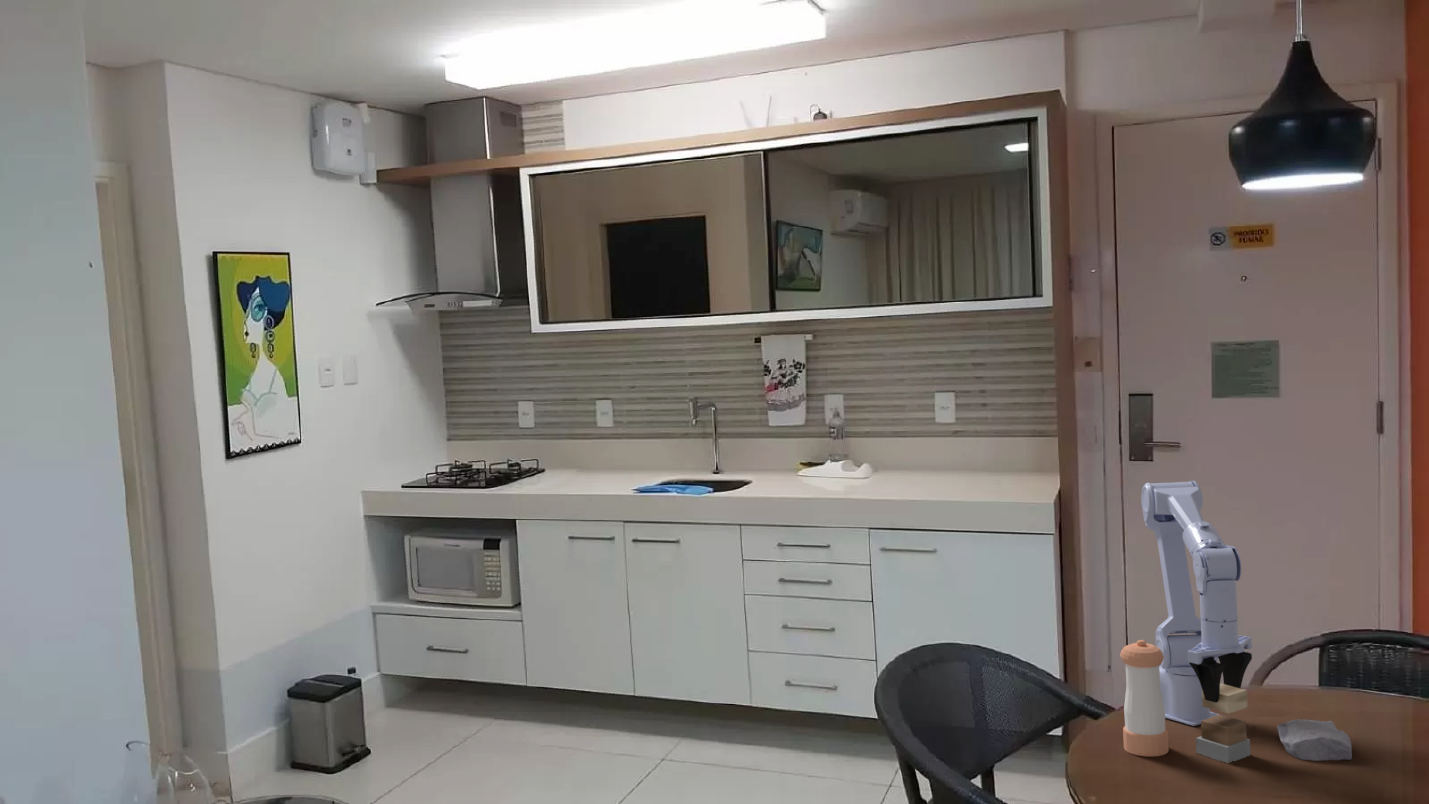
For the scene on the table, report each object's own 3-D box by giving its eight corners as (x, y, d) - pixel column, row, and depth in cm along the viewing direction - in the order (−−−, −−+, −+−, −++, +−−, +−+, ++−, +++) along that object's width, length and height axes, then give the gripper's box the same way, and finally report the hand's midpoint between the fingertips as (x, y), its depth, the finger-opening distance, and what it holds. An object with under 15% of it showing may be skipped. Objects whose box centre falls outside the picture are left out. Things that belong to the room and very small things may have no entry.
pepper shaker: (1175, 747, 194) (1170, 638, 193) (1159, 759, 188) (1154, 648, 188) (1133, 739, 199) (1128, 633, 198) (1117, 751, 193) (1112, 642, 192)
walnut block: (1201, 738, 190) (1201, 720, 190) (1220, 731, 192) (1219, 714, 192) (1228, 746, 186) (1227, 728, 185) (1246, 739, 188) (1246, 721, 188)
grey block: (1196, 755, 190) (1195, 738, 190) (1218, 747, 193) (1218, 730, 193) (1228, 765, 185) (1227, 747, 185) (1250, 757, 188) (1249, 739, 188)
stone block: (1296, 772, 185) (1359, 761, 183) (1288, 744, 185) (1352, 732, 183) (1274, 749, 196) (1333, 738, 195) (1266, 722, 197) (1326, 711, 195)
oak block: (1202, 706, 190) (1201, 689, 190) (1221, 700, 192) (1220, 683, 192) (1228, 713, 185) (1228, 696, 185) (1247, 707, 188) (1246, 690, 188)
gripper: (1212, 630, 181) (1216, 712, 182) (1267, 615, 189) (1270, 694, 189) (1175, 622, 188) (1178, 701, 188) (1229, 608, 195) (1232, 684, 195)
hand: (1222, 697), depth 189 cm, fingers closed on oak block, 5 cm apart
